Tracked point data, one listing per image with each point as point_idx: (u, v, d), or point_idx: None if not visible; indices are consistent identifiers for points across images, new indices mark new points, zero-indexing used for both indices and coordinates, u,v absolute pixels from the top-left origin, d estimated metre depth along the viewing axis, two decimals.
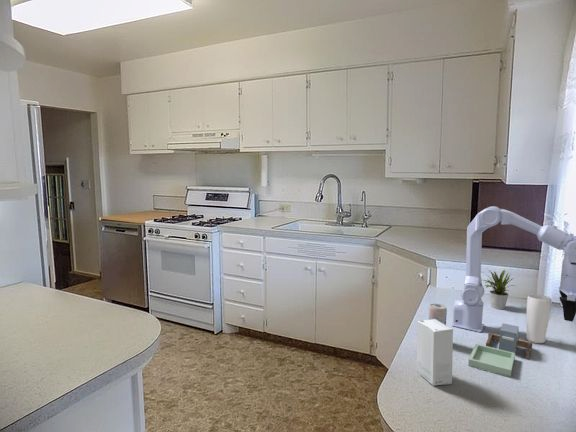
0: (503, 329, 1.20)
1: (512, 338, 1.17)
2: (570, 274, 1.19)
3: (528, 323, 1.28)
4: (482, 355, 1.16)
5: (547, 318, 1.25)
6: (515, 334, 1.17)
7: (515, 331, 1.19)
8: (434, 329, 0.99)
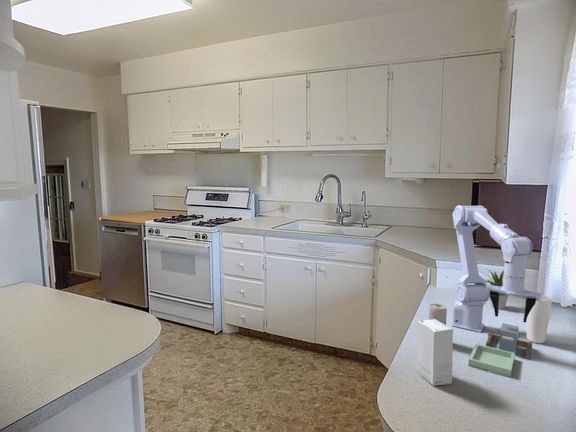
0: (503, 329, 1.20)
1: (512, 338, 1.17)
2: (504, 273, 1.19)
3: (528, 323, 1.28)
4: (482, 355, 1.16)
5: (547, 318, 1.25)
6: (515, 334, 1.17)
7: (515, 331, 1.18)
8: (434, 329, 0.99)
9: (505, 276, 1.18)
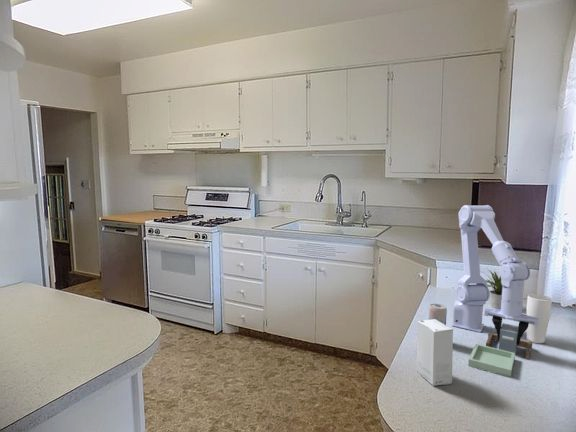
0: (503, 329, 1.20)
1: (512, 338, 1.17)
2: (503, 297, 1.20)
3: None
4: (482, 355, 1.16)
5: (547, 318, 1.25)
6: (515, 334, 1.17)
7: (515, 331, 1.18)
8: (434, 329, 0.99)
9: (503, 300, 1.20)
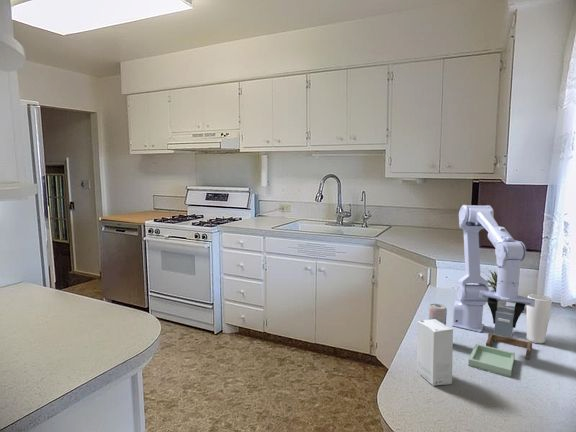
0: (498, 311, 1.15)
1: (508, 320, 1.13)
2: (497, 277, 1.16)
3: (528, 323, 1.28)
4: (482, 355, 1.16)
5: (547, 318, 1.25)
6: (511, 316, 1.13)
7: (511, 313, 1.14)
8: (434, 329, 0.99)
9: (499, 281, 1.15)
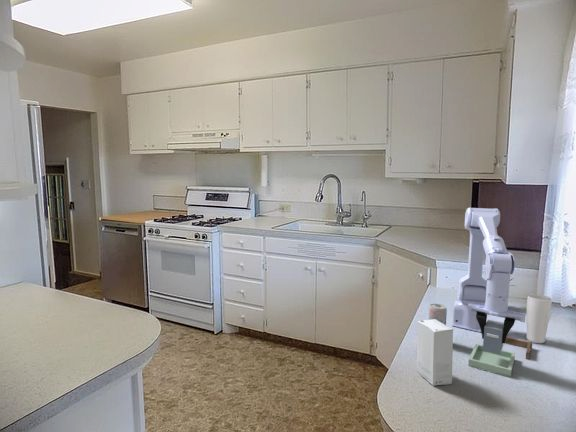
0: (487, 326, 1.10)
1: (497, 335, 1.08)
2: (486, 290, 1.12)
3: (528, 323, 1.28)
4: (482, 355, 1.16)
5: (547, 318, 1.25)
6: (500, 331, 1.08)
7: (500, 328, 1.09)
8: (434, 329, 0.99)
9: (487, 295, 1.10)
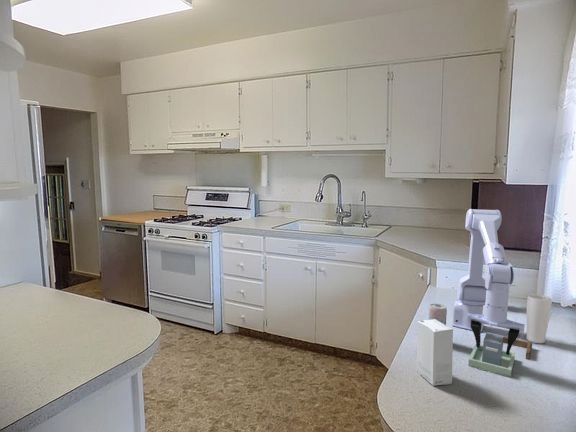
0: (486, 339, 1.11)
1: (496, 349, 1.08)
2: (485, 300, 1.12)
3: (528, 323, 1.28)
4: None
5: (547, 318, 1.25)
6: (499, 345, 1.08)
7: (499, 341, 1.10)
8: (434, 329, 0.99)
9: (487, 305, 1.11)
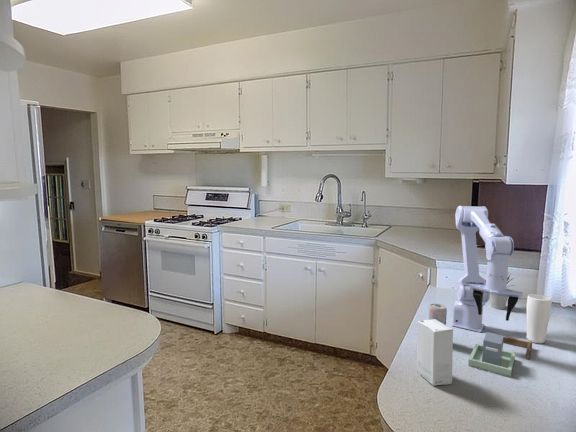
0: (486, 339, 1.11)
1: (496, 349, 1.08)
2: (487, 271, 1.20)
3: (528, 323, 1.28)
4: None
5: (547, 318, 1.25)
6: (499, 345, 1.08)
7: (499, 341, 1.10)
8: (434, 329, 0.99)
9: (488, 275, 1.19)
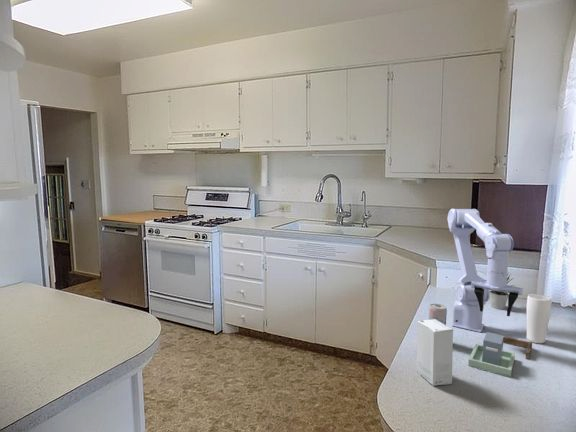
0: (486, 339, 1.11)
1: (496, 349, 1.08)
2: (487, 268, 1.24)
3: (528, 323, 1.28)
4: None
5: (547, 318, 1.25)
6: (499, 345, 1.08)
7: (499, 341, 1.10)
8: (434, 329, 0.99)
9: (488, 272, 1.23)
